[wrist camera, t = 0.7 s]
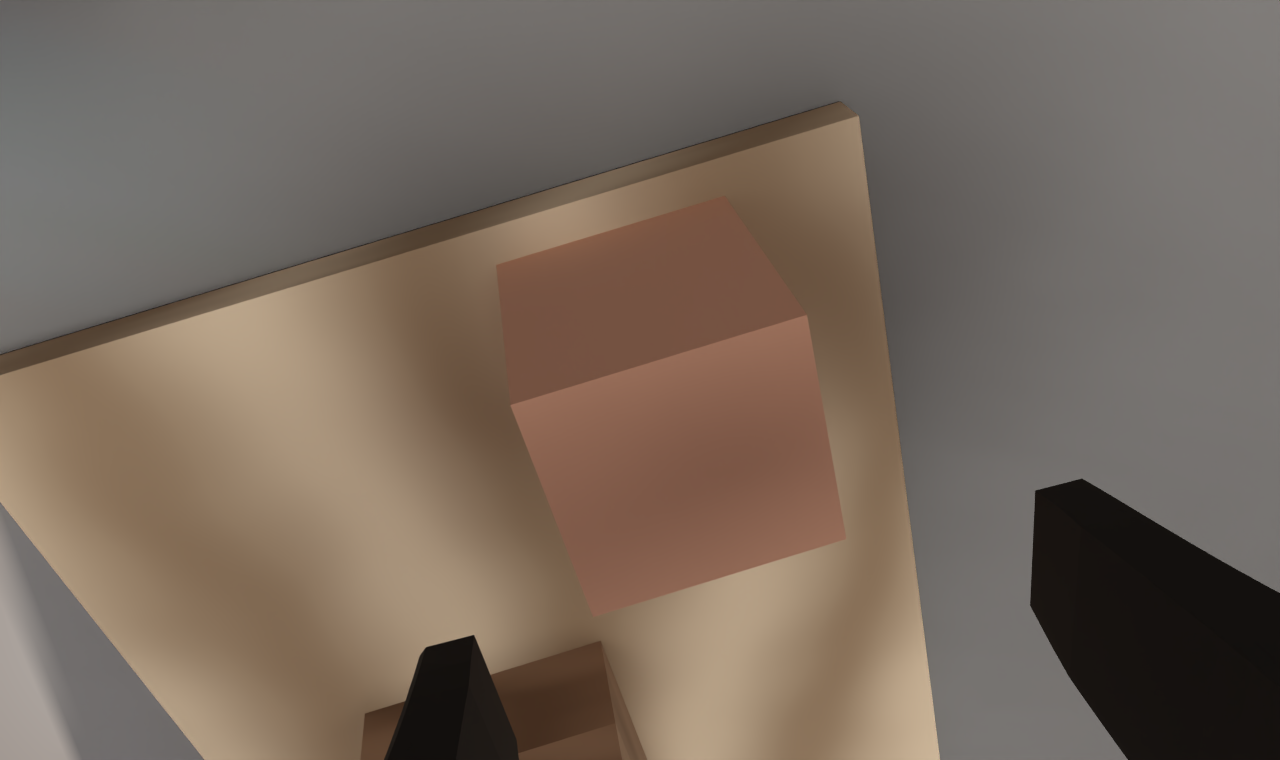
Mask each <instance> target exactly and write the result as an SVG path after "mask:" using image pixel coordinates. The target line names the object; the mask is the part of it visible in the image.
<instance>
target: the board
mask: <svg viewBox="0 0 1280 760" xmlns="http://www.w3.org/2000/svg"><path fill="white" fill-rule="evenodd" d="M722 196H725V197H726V198H727V200H728V201H729V203H730V204H731V206H732V207H733V209H734V210H735V211H736V213H737V214H738V216H739V217H740V219H741V220H742V222H743V223H744V224H745V226H746V227H747V229H748V230H749V232H750V233H751V235H752V236H753V237H754V239H755V240H756V242H757V243H758V245H759V246H760V248H761V249H762V250H763V252H764V253H765V255H766V256H767V258H768V259H769V261H770V262H771V263H772V265H773V266H774V268H775V269H776V271H777V272H778V274H779V275H780V276H781V278H782V279H783V281H784V282H785V284H786V285H787V287H788V288H789V289H790V291H791V292H792V294H793V295H794V297H795V298H796V300H797V301H798V302H799V304H800V305H801V307H802V308H803V310H804V311H805V313H806V314H807V317H808V323H809V329H810V335H811V340H812V346H813V352H814V357H815V363H816V369H817V374H818V380H819V386H820V391H821V397H822V403H823V409H824V414H825V420H826V426H827V431H828V437H829V443H830V448H831V454H832V460H833V465H834V471H835V477H836V483H837V488H838V494H839V500H840V505H841V511H842V517H843V522H844V528H845V534H846V539H845V540H842V541H839V542H835V543H832V544H829V545H826V546H822V547H819V548H816V549H813V550H809V551H806V552H803V553H800V554H796V555H793V556H790V557H787V558H783V559H780V560H777V561H774V562H770V563H767V564H764V565H761V566H757V567H754V568H751V569H748V570H744V571H741V572H738V573H735V574H731V575H728V576H725V577H722V578H718V579H715V580H712V581H709V582H706V583H702V584H699V585H696V586H693V587H689V588H686V589H683V590H680V591H676V592H673V593H670V594H667V595H663V596H660V597H657V598H654V599H650V600H647V601H644V602H641V603H637V604H634V605H631V606H628V607H624V608H621V609H618V610H615V611H611V612H608V613H605V614H602V615H598V616H595V617H593V616H592V613H591V611H590V608H589V606H588V603H587V600H586V598H585V595H584V593H583V590H582V588H581V585H580V582H579V580H578V577H577V575H576V572H575V570H574V567H573V565H572V562H571V559H570V557H569V554H568V552H567V549H566V547H565V544H564V541H563V539H562V536H561V534H560V531H559V529H558V526H557V523H556V521H555V518H554V516H553V513H552V511H551V508H550V506H549V503H548V500H547V498H546V495H545V493H544V490H543V488H542V485H541V482H540V480H539V477H538V475H537V472H536V470H535V467H534V465H533V462H532V459H531V457H530V454H529V452H528V449H527V447H526V444H525V441H524V439H523V436H522V434H521V431H520V429H519V426H518V424H517V421H516V418H515V416H514V413H513V411H512V408H511V406H510V397H509V387H508V377H507V367H506V357H505V347H504V337H503V327H502V317H501V307H500V297H499V287H498V277H497V268H496V265H497V264H501V263H504V262H507V261H511V260H514V259H517V258H521V257H524V256H527V255H530V254H534V253H537V252H540V251H544V250H547V249H550V248H554V247H557V246H560V245H563V244H567V243H570V242H573V241H577V240H580V239H583V238H587V237H590V236H593V235H597V234H600V233H603V232H606V231H610V230H613V229H616V228H620V227H623V226H626V225H630V224H633V223H636V222H639V221H643V220H646V219H649V218H653V217H656V216H659V215H663V214H666V213H669V212H672V211H676V210H679V209H682V208H686V207H689V206H692V205H696V204H699V203H702V202H706V201H709V200H712V199H715V198H719V197H722ZM0 502H1V504H2V505H3V506H4V507H5V509H6V510H7V511H8V512H9V514H10V515H11V516H12V517H13V519H14V520H15V521H16V522H17V524H18V525H19V526H20V527H21V529H22V530H23V531H24V533H25V534H26V535H27V536H28V538H29V539H30V540H31V541H32V543H33V544H34V545H35V546H36V548H37V549H38V550H39V551H40V553H41V554H42V555H43V557H44V558H45V559H46V560H47V562H48V563H49V564H50V565H51V567H52V568H53V569H54V570H55V572H56V573H57V574H58V575H59V577H60V578H61V579H62V580H63V582H64V583H65V584H66V586H67V587H68V588H69V589H70V591H71V592H72V593H73V594H74V596H75V597H76V598H77V599H78V601H79V602H80V603H81V604H82V606H83V607H84V608H85V609H86V611H87V612H88V613H89V615H90V616H91V617H92V618H93V620H94V621H95V622H96V623H97V625H98V626H99V627H100V628H101V630H102V631H103V632H104V633H105V635H106V636H107V637H108V638H109V640H110V641H111V642H112V644H113V645H114V646H115V647H116V649H117V650H118V651H119V652H120V654H121V655H122V656H123V657H124V659H125V660H126V661H127V662H128V664H129V665H130V666H131V667H132V669H133V670H134V671H135V673H136V674H137V675H138V676H139V678H140V679H141V680H142V681H143V683H144V684H145V685H146V686H147V688H148V689H149V690H150V691H151V693H152V694H153V695H154V696H155V698H156V699H157V700H158V702H159V703H160V704H161V705H162V707H163V708H164V709H165V710H166V712H167V713H168V714H169V715H170V717H171V718H172V719H173V720H174V722H175V723H176V724H177V726H178V727H179V728H180V729H181V731H182V732H183V733H184V734H185V736H186V737H187V738H188V739H189V741H190V742H191V743H192V744H193V746H194V747H195V748H196V749H197V751H198V752H199V753H200V755H201V756H202V757H203V758H204V760H361V749H362V739H363V728H364V717H365V713H368V712H371V711H375V710H378V709H381V708H384V707H388V706H391V705H394V704H397V703H401V702H404V701H405V700H406V697H407V694H408V691H409V688H410V685H411V682H412V679H413V676H414V673H415V669H416V666H417V663H418V660H419V656H420V655H421V653H422V652H423V650H424V649H425V648H426V647H428V646H432V645H436V644H440V643H444V642H448V641H452V640H456V639H460V638H463V637H467V636H471V635H475V638H476V640H477V643H478V645H479V648H480V650H481V653H482V655H483V658H484V660H485V663H486V665H487V668H488V670H489V673H490V675H491V674H495V673H498V672H501V671H504V670H508V669H511V668H514V667H517V666H521V665H524V664H527V663H530V662H534V661H537V660H540V659H543V658H547V657H550V656H553V655H556V654H560V653H563V652H566V651H569V650H573V649H576V648H579V647H582V646H585V645H589V644H592V643H595V642H598V641H601V643H602V645H603V648H604V651H605V653H606V656H607V658H608V661H609V663H610V666H611V668H612V671H613V674H614V676H615V679H616V681H617V684H618V686H619V689H620V691H621V694H622V697H623V699H624V702H625V704H626V707H627V709H628V712H629V714H630V717H631V720H632V722H633V725H634V727H635V730H636V732H637V735H638V737H639V740H640V743H641V745H642V748H643V750H644V753H645V755H646V758H647V760H940V756H939V749H938V741H937V733H936V725H935V717H934V709H933V701H932V693H931V685H930V677H929V669H928V661H927V653H926V645H925V637H924V630H923V622H922V614H921V606H920V598H919V590H918V582H917V574H916V566H915V558H914V550H913V542H912V534H911V526H910V518H909V511H908V503H907V495H906V487H905V479H904V471H903V463H902V455H901V447H900V439H899V431H898V423H897V415H896V407H895V399H894V392H893V384H892V376H891V368H890V360H889V352H888V344H887V336H886V328H885V320H884V312H883V304H882V296H881V288H880V280H879V273H878V265H877V257H876V249H875V241H874V233H873V225H872V217H871V209H870V201H869V193H868V185H867V177H866V169H865V161H864V154H863V146H862V138H861V130H860V122H859V116H858V115H857V114H856V113H855V112H853V111H852V110H851V109H849V108H848V107H847V106H846V105H844V104H843V103H842V102H837V103H834V104H830V105H827V106H824V107H820V108H817V109H814V110H810V111H807V112H804V113H801V114H797V115H794V116H791V117H787V118H784V119H781V120H777V121H774V122H771V123H767V124H764V125H761V126H757V127H754V128H751V129H748V130H744V131H741V132H738V133H734V134H731V135H728V136H724V137H721V138H718V139H714V140H711V141H708V142H705V143H701V144H698V145H695V146H691V147H688V148H685V149H681V150H678V151H675V152H671V153H668V154H665V155H661V156H658V157H655V158H652V159H648V160H645V161H642V162H638V163H635V164H632V165H628V166H625V167H622V168H618V169H615V170H612V171H608V172H605V173H602V174H599V175H595V176H592V177H589V178H585V179H582V180H579V181H575V182H572V183H569V184H565V185H562V186H559V187H555V188H552V189H549V190H546V191H542V192H539V193H536V194H532V195H529V196H526V197H522V198H519V199H516V200H512V201H509V202H506V203H502V204H499V205H496V206H493V207H489V208H486V209H483V210H479V211H476V212H473V213H469V214H466V215H463V216H459V217H456V218H453V219H449V220H446V221H443V222H440V223H436V224H433V225H430V226H426V227H423V228H420V229H416V230H413V231H410V232H406V233H403V234H400V235H396V236H393V237H390V238H387V239H383V240H380V241H377V242H373V243H370V244H367V245H363V246H360V247H357V248H353V249H350V250H347V251H344V252H340V253H337V254H334V255H330V256H327V257H324V258H320V259H317V260H314V261H310V262H307V263H304V264H300V265H297V266H294V267H291V268H287V269H284V270H281V271H277V272H274V273H271V274H267V275H264V276H261V277H257V278H254V279H251V280H247V281H244V282H241V283H238V284H234V285H231V286H228V287H224V288H221V289H218V290H214V291H211V292H208V293H204V294H201V295H198V296H194V297H191V298H188V299H185V300H181V301H178V302H175V303H171V304H168V305H165V306H161V307H158V308H155V309H151V310H148V311H145V312H141V313H138V314H135V315H132V316H128V317H125V318H122V319H118V320H115V321H112V322H108V323H105V324H102V325H98V326H95V327H92V328H88V329H85V330H82V331H79V332H75V333H72V334H69V335H65V336H62V337H59V338H55V339H52V340H49V341H45V342H42V343H39V344H35V345H32V346H29V347H26V348H22V349H19V350H16V351H12V352H9V353H6V354H2V355H0Z"/></svg>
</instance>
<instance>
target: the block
mask: <svg viewBox="0 0 1280 760" xmlns="http://www.w3.org/2000/svg"><path fill="white" fill-rule="evenodd" d="M496 268H497V277H498V287H499V297H500V307H501V317H502V327H503V337H504V347H505V357H506V367H507V377H508V387H509V397H510V406H511V408H512V411H513V413H514V416H515V418H516V421H517V424H518V426H519V429H520V431H521V434H522V436H523V439H524V441H525V444H526V447H527V449H528V452H529V454H530V457H531V459H532V462H533V465H534V467H535V470H536V472H537V475H538V477H539V480H540V482H541V485H542V488H543V490H544V493H545V495H546V498H547V500H548V503H549V506H550V508H551V511H552V513H553V516H554V518H555V521H556V523H557V526H558V529H559V531H560V534H561V536H562V539H563V541H564V544H565V547H566V549H567V552H568V554H569V557H570V559H571V562H572V565H573V567H574V570H575V572H576V575H577V577H578V580H579V582H580V585H581V588H582V590H583V593H584V595H585V598H586V600H587V603H588V606H589V608H590V611H591V613H592V616H593V617H595V616H598V615H602V614H605V613H608V612H611V611H615V610H618V609H621V608H624V607H628V606H631V605H634V604H637V603H641V602H644V601H647V600H650V599H654V598H657V597H660V596H663V595H667V594H670V593H673V592H676V591H680V590H683V589H686V588H689V587H693V586H696V585H699V584H702V583H706V582H709V581H712V580H715V579H718V578H722V577H725V576H728V575H731V574H735V573H738V572H741V571H744V570H748V569H751V568H754V567H757V566H761V565H764V564H767V563H770V562H774V561H777V560H780V559H783V558H787V557H790V556H793V555H796V554H800V553H803V552H806V551H809V550H813V549H816V548H819V547H822V546H826V545H829V544H832V543H835V542H839V541H842V540H845V539H846V534H845V528H844V522H843V517H842V511H841V505H840V500H839V494H838V488H837V483H836V477H835V471H834V465H833V460H832V454H831V448H830V443H829V437H828V431H827V426H826V420H825V414H824V409H823V403H822V397H821V391H820V386H819V380H818V374H817V369H816V363H815V357H814V352H813V346H812V340H811V335H810V329H809V323H808V317H807V314H806V313H805V311H804V310H803V308H802V307H801V305H800V304H799V302H798V301H797V300H796V298H795V297H794V295H793V294H792V292H791V291H790V289H789V288H788V287H787V285H786V284H785V282H784V281H783V279H782V278H781V276H780V275H779V274H778V272H777V271H776V269H775V268H774V266H773V265H772V263H771V262H770V261H769V259H768V258H767V256H766V255H765V253H764V252H763V250H762V249H761V248H760V246H759V245H758V243H757V242H756V240H755V239H754V237H753V236H752V235H751V233H750V232H749V230H748V229H747V227H746V226H745V224H744V223H743V222H742V220H741V219H740V217H739V216H738V214H737V213H736V211H735V210H734V209H733V207H732V206H731V204H730V203H729V201H728V200H727V198H726V197H725V196H722V197H719V198H715V199H712V200H709V201H706V202H702V203H699V204H696V205H692V206H689V207H686V208H682V209H679V210H676V211H672V212H669V213H666V214H663V215H659V216H656V217H653V218H649V219H646V220H643V221H639V222H636V223H633V224H630V225H626V226H623V227H620V228H616V229H613V230H610V231H606V232H603V233H600V234H597V235H593V236H590V237H587V238H583V239H580V240H577V241H573V242H570V243H567V244H563V245H560V246H557V247H554V248H550V249H547V250H544V251H540V252H537V253H534V254H530V255H527V256H524V257H521V258H517V259H514V260H511V261H507V262H504V263H501V264H497V265H496Z"/></svg>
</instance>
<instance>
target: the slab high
mask: <svg viewBox="0 0 1280 760" xmlns="http://www.w3.org/2000/svg"><path fill="white" fill-rule="evenodd" d="M518 755H519V760H630V758H629V755H628V753H627V750H626V748H625V745H624V743H623V740H622V738H621V736H620V733H619V731H618V728H617V726H616V723H614V724H611V725H608V726H605V727H602V728H598V729H595V730H592V731H589V732H585V733H582V734H579V735H576V736H572V737H569V738H566V739H563V740H560V741H556V742H553V743H550V744H547V745H543V746H540V747H537V748H534V749H530V750H527V751H524V752H521V753H518Z"/></svg>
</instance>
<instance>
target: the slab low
mask: <svg viewBox="0 0 1280 760" xmlns="http://www.w3.org/2000/svg"><path fill="white" fill-rule="evenodd" d="M491 678H492V680H493V683H494V685H495V687H496V690H497V692H498V695H499V697H500V700H501V702H502V705H503V707H504V710H505V712H506V715H507V717H508V720H509V722H510V725H511V727H512V730H513V732H514V734H515V737H516V739H517V747H518V753H521V752H524V751H527V750H530V749H534V748H537V747H540V746H543V745H547V744H550V743H553V742H556V741H560V740H563V739H566V738H569V737H572V736H576V735H579V734H582V733H585V732H589V731H592V730H595V729H598V728H602V727H605V726H608V725H611V724H614V723H616V726H617V728H618V731H619V733H620V736H621V738H622V740H623V743H624V745H625V748H626V750H627V753H628V755H629V758H630V760H647V758H646V755H645V753H644V750H643V748H642V745H641V743H640V740H639V737H638V735H637V732H636V730H635V727H634V725H633V722H632V720H631V717H630V714H629V712H628V709H627V707H626V704H625V702H624V699H623V697H622V694H621V691H620V689H619V686H618V684H617V681H616V679H615V676H614V674H613V671H612V668H611V666H610V663H609V661H608V658H607V656H606V653H605V651H604V648H603V645H602V643H601V641H598V642H595V643H592V644H589V645H585V646H582V647H579V648H576V649H573V650H569V651H566V652H563V653H560V654H556V655H553V656H550V657H547V658H543V659H540V660H537V661H534V662H530V663H527V664H524V665H521V666H517V667H514V668H511V669H508V670H504V671H501V672H498V673H495V674H491ZM404 703H405V701H404V702H401V703H397V704H394V705H391V706H388V707H384V708H381V709H378V710H375V711H371V712H368V713H365V717H364V728H363V739H362V749H361V760H384V758H385V756H386V753H387V750H388V748H389V745H390V742H391V740H392V737H393V734H394V731H395V729H396V726H397V723H398V720H399V718H400V715H401V712H402V709H403V706H404Z"/></svg>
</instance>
